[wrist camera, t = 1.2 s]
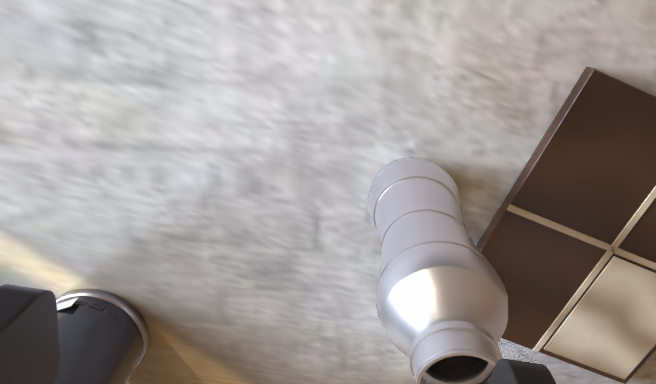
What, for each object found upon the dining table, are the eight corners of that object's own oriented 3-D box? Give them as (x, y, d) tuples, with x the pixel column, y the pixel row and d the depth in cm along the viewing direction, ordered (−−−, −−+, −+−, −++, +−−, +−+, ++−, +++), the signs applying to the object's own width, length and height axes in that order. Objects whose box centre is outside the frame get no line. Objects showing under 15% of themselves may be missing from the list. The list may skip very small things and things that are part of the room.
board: (618, 374, 44) (626, 385, 43) (438, 306, 42) (440, 316, 41) (802, 162, 36) (818, 169, 34) (586, 66, 34) (594, 69, 32)
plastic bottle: (397, 132, 36) (440, 292, 18) (471, 178, 37) (582, 372, 19) (351, 199, 39) (346, 401, 20) (421, 240, 40) (477, 466, 21)
